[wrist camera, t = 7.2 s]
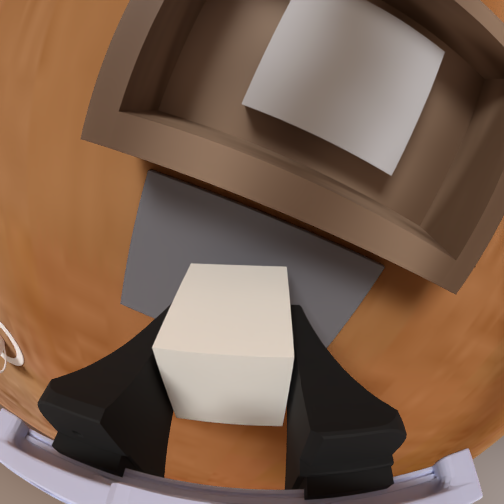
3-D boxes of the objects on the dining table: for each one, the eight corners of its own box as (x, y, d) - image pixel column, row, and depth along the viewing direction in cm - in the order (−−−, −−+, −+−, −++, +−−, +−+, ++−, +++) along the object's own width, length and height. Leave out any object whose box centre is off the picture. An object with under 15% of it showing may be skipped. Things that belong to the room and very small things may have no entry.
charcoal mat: (382, 264, 13) (384, 267, 13) (308, 365, 17) (308, 369, 17) (150, 169, 12) (148, 170, 12) (122, 300, 16) (120, 303, 15)
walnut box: (496, 77, 8) (548, 79, 5) (418, 250, 13) (456, 294, 9) (225, -66, 6) (211, -111, 3) (131, 128, 11) (80, 138, 8)
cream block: (286, 266, 12) (294, 357, 7) (280, 337, 14) (282, 426, 9) (190, 263, 12) (151, 347, 8) (199, 333, 14) (176, 417, 9)
